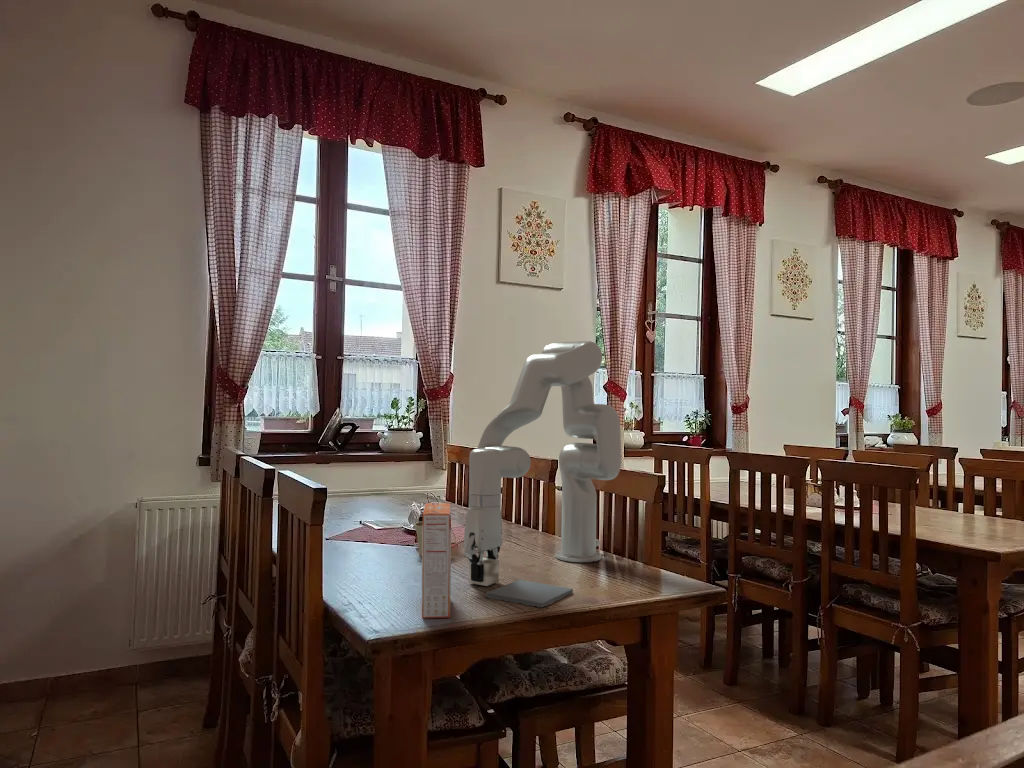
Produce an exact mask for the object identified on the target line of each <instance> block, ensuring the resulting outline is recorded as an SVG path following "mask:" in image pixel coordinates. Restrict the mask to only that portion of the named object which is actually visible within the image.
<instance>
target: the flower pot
mask: <svg viewBox="0 0 1024 768" xmlns="http://www.w3.org/2000/svg"><path fill="white" fill-rule="evenodd" d="M413 526H414V528H415V531H416V537H417V545H418V552H419V553H418V554H419V556H420V557H422V521H418V522H415V523H413Z"/></svg>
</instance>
